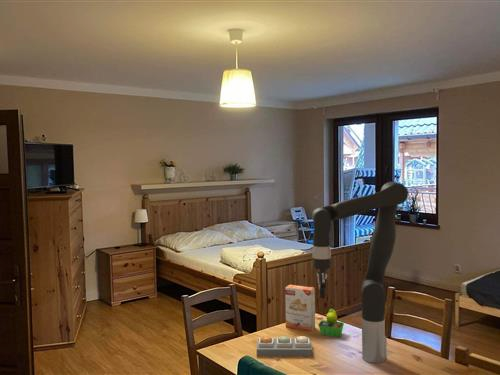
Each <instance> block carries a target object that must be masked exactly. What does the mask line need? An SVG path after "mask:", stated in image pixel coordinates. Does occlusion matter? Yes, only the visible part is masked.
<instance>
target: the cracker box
mask: <svg viewBox="0 0 500 375" xmlns="http://www.w3.org/2000/svg"><path fill="white" fill-rule="evenodd" d="M284 290H285V291H284V292H285V294H284V296H285V300H284V302H285V327H286V328H291V329H295V328H296V330H301V331H308V332H312V331H314V329H315V328H316V299H315V298H316V290H315V287H313V286H305V285H295V284H288V285H287V286H285V288H284Z"/></svg>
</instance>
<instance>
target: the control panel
mask: <svg viewBox="0 0 500 375" xmlns="http://www.w3.org/2000/svg"><path fill="white" fill-rule="evenodd" d="M256 343H257V344H256V357H313V346H312V340H311V338H309V337H307V343H297V337H294V338H292V337H289V343H279V337H277V338H274V337H271V343H261V337H259V338H257V342H256Z"/></svg>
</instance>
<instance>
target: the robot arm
mask: <svg viewBox="0 0 500 375" xmlns="http://www.w3.org/2000/svg"><path fill="white" fill-rule="evenodd" d="M408 198H409V191H408V189H407V187H406V186H405V185H404V184H402V183H400V182H395V181H388V182H386V183H384V184H383V185H382V186H381V189H380V191H377V192H375V193H370V194H368V195H363V196H357V197H356V196H355V197H352V198H349V199H345V200H342V201H338V202H336V203H334V204H329V205H325V206H321V207H317V208H315V209H314V210H313V212H311V213H312V214H311V220H312V222H313V231H314V232H313V235H312V244H313V245H312V268H314V269H316V270H318V271H316V277H317V284H318V290H319V294H318V296H319V298H320V299H325V298H326V289H327V283H328V280H327V278H328V273H327V271H326V270H329V269H331V268H332V250H331V249H332V248H331V236H330V234H331V225H332V222H333V221H335V220H344V219H347V218H350V217H355V216H357V215H359V214H363V213H365V212H369V211H373V210H377V209H378V211H377V212H378V213H377V216H376V220H375V224H374V229H373V232H372V237H371V241H370V247H369V254H368V264H367V269H366V272H365V276H364V279H363V282H362V285H361V289H360V291H361V343H362V344H361V346H362V347H361V351H362V352H361V354H362V355H361V356H362V360H363V361H365V362H368V363H373V364H377V363H378V364H379V363H383V362H384V361H386V360H387V358H388V357H387V356H388V355H387V354H388V353H387V352H388V349H387V346H388V345H387V342H388V341H387V335H385V334H386V333H385V331H386V330H385V327H386V326H385V321H386V320H385V319H386V318H385V314H386V291H385V289H384V280H385V273H386V268H387V266H388V264H389V263H390V260H391V257H392V254H393V252H394V248H395V243H396V236H397V235H396V234H397V233H396V232H397V231H396V230H397V229H396V213H397V209H398V206H400V205H402V204H404V203H405V202H406V201H407V199H408Z"/></svg>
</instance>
